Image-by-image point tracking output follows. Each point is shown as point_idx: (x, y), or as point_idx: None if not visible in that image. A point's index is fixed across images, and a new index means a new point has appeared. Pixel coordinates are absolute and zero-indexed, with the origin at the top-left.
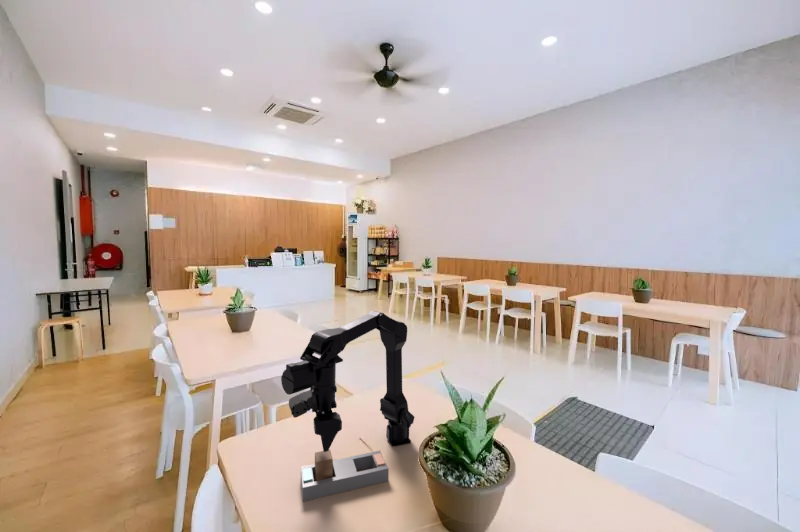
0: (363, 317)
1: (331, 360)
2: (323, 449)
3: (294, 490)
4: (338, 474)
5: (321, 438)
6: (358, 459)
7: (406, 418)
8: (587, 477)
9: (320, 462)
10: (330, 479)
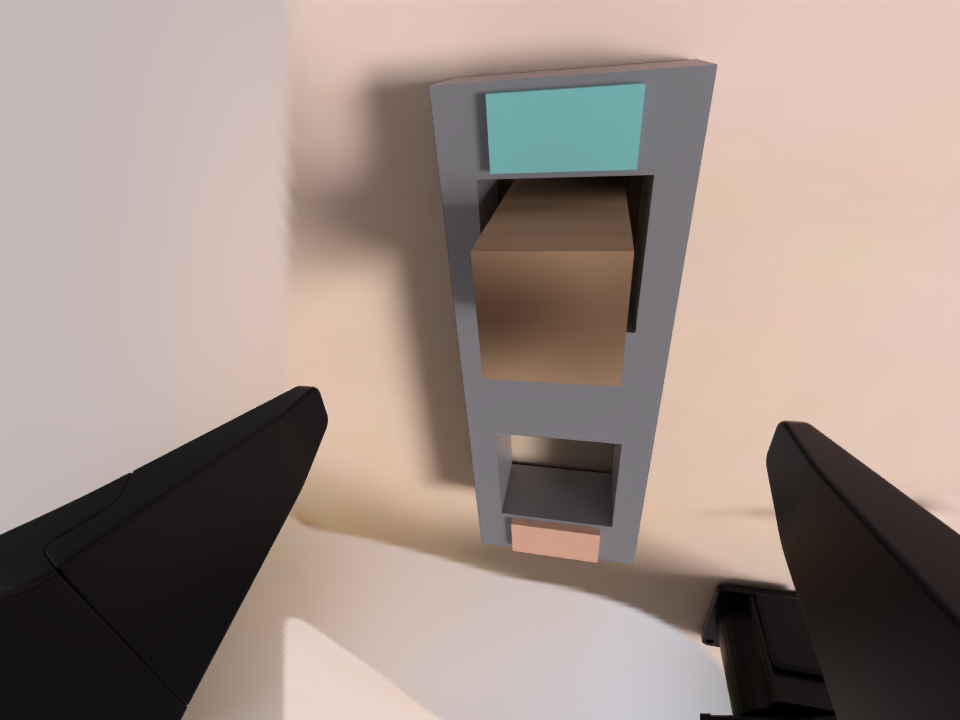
0: None
1: None
2: (271, 401)
3: (594, 3)
4: None
5: (40, 520)
6: (618, 463)
7: None
8: None
9: (475, 280)
10: (471, 291)
